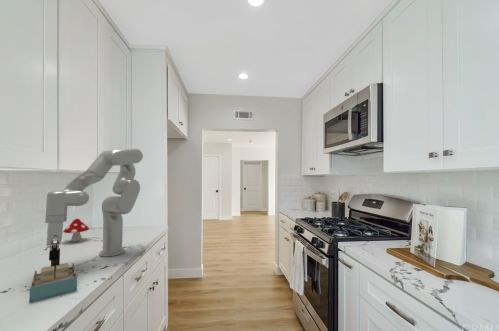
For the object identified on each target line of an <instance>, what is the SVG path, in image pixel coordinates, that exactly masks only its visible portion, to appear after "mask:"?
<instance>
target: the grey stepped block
mask: <svg viewBox="0 0 499 331" xmlns="http://www.w3.org/2000/svg"><path fill="white" fill-rule="evenodd" d="M58 250H59V259H57V260H51V261H50V266H46V267H43V268H47V267H52V266H54V271H55V270H56V266H57V265H63V264H68V265H69V263H68V262H66V263H60V262H61V261H60V260H61V248H60V247H59V249H58Z"/></svg>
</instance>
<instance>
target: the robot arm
mask: <svg viewBox="0 0 499 331" xmlns="http://www.w3.org/2000/svg"><path fill="white" fill-rule="evenodd" d="M143 157H144V154H143V152H142V151H141V150H140V149H138V148H126V149H125V148H124V149H112V150H111V149H110V150H109V149H108V150H104V151H102V152H101V153H100V154H99V155H98V156H97V157H96V158H95V160H94V161H93V162H92V163H91V165H89V167H88V168H87V169H86V170H85V171H83V172H82V173H81V174H79V175H78V176H76V177H75V178H74V179H72V180H71V181H70V182H69V183H68V184H67V185H66V186H65V188H63V190H62V191H61V190H59V191H58V190H55V191H49V192H48V193H47V194H46V205H45V217H44V218H45V221H44V222H45V223H44V224H47V232H46V246H47V247H49V252H48V253H49V254H48V261H49V262H51V260H57V259H59V250H58V249H59V248H60V245H61V243H62V239H63V233H64V232H63V231H64V222H67V221H68V220H67V218H68V207H81V206H84V205H86V204H87V203H89V200H90V195H89V193H88V192H86V191H84V190H85V189H86V188H88V187H89V186H92V185H93V184H96V183H99V182H100V181H103V179H104V178H105V177H106V176H107V174H108V173H109V171H110V170H111V169H112V168H113V166H114V167H115V166H119V173H118V175H117V177H116V178H115V181H114V182H113V186H112V192H113V193H114V194H115V195H114V196H113V195H112V196H111V195H110V196H107V197H106V198H105V199H104V200H103V201H102V203H101V211H102V212H101V213H102V219H103V220H102V225H103V226H102V250H101V251H99V252H98V255H99V256H100V257H106V258H107V257H114V256H115V257H116V256H119V255H122V254H124V253H126V248H125V247H123V235H124V234H123V231H124V230H123V228H124V227H123V225H124V224H123V223H124V221H123V220H124V219H123V215H128V214H129V213H130V212H132V210H133V208H134V206H135V203H136V201H137V199H138V196H139V194H140V190H141V184H140V182H139V181H138V180H137V179H135V176H136V172H137V171H136V167H135V164H138V163H140V162H141V161H142V160H143Z"/></svg>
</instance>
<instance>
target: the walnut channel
mask: <svg viewBox="0 0 499 331" xmlns="http://www.w3.org/2000/svg"><path fill="white" fill-rule="evenodd" d="M75 268H76V267H75V263H72V266H71V267H70V266H69V269H68V276H66V277H62V278H57V279H56V270H55V271H54V279H53V280H48V281H44V282H41V272H40V273H38V272H37V270H35V271H34V274H33V277H32V281H31V287H33V286H38V285H42V284H47V283H51V282H55V281H60V280H64V279H69V278H73V277H77V274H76V269H75Z"/></svg>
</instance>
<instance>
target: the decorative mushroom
mask: <svg viewBox="0 0 499 331" xmlns="http://www.w3.org/2000/svg"><path fill="white" fill-rule="evenodd" d="M88 230H90V227H89V226H88V225H87V224H85V222H83V221H82V220H81V219H80V218H75V219H72V221H71V223H69V225H67V227H65V229H63V232H62V233H65V234H72V236H71V239H70V240H71V242H73V243H74V242H75V243H76V242H80V241H81V240H82V235H81V233H82V232H83V233H84V232H87V231H88Z"/></svg>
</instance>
